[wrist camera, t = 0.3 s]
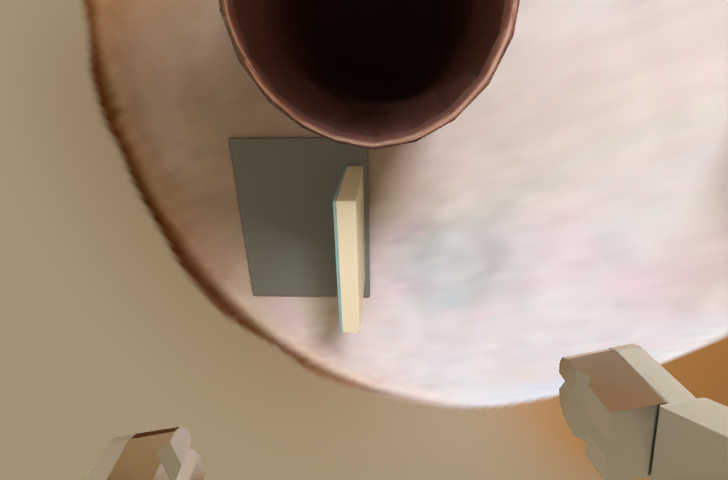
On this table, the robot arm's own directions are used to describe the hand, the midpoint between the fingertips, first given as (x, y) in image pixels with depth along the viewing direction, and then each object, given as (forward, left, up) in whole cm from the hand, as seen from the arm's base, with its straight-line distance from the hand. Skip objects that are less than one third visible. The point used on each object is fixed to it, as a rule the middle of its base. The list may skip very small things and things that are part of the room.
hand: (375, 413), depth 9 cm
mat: (+12, -10, -39) cm, 42 cm away
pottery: (-10, -1, -39) cm, 40 cm away
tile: (+12, -4, -39) cm, 41 cm away
